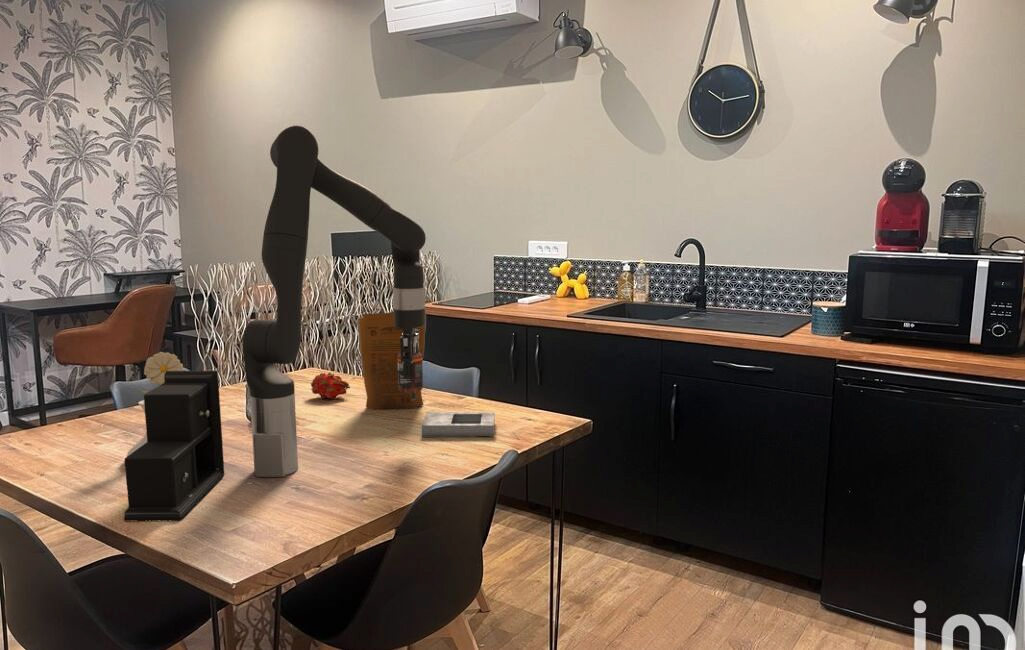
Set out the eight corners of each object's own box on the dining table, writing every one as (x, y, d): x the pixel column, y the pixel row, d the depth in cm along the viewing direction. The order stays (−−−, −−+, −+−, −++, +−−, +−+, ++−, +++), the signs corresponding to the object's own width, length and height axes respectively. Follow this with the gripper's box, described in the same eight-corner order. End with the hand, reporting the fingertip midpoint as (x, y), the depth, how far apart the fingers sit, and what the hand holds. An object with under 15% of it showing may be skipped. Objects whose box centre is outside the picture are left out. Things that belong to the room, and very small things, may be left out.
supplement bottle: (425, 387, 187) (424, 342, 185) (419, 393, 181) (419, 346, 180) (401, 387, 188) (400, 341, 186) (395, 392, 182) (394, 346, 180)
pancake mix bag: (428, 409, 216) (426, 312, 212) (360, 411, 214) (356, 313, 210) (428, 403, 223) (426, 308, 218) (362, 405, 221) (358, 309, 216)
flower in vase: (122, 470, 167) (112, 359, 163) (132, 454, 178) (124, 349, 174) (186, 465, 170) (178, 355, 166) (192, 449, 181) (185, 346, 177)
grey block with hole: (493, 437, 191) (493, 425, 190) (421, 437, 191) (421, 425, 190) (494, 423, 203) (494, 412, 202) (426, 423, 203) (426, 412, 202)
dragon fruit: (309, 401, 231) (347, 408, 230) (302, 391, 224) (341, 398, 222) (318, 376, 235) (355, 383, 234) (311, 365, 227) (350, 372, 226)
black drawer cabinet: (181, 521, 140) (172, 397, 137) (122, 522, 140) (111, 398, 137) (226, 476, 164) (219, 369, 160) (175, 477, 163) (167, 370, 160)
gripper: (420, 310, 174) (422, 382, 177) (428, 303, 189) (429, 369, 191) (388, 310, 174) (389, 382, 177) (398, 303, 189) (399, 369, 191)
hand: (410, 375), depth 184 cm, fingers closed on supplement bottle, 6 cm apart
